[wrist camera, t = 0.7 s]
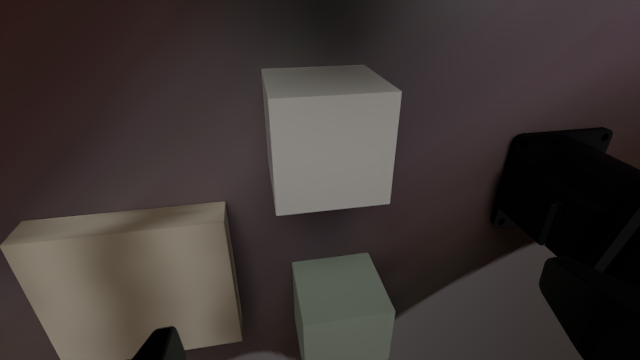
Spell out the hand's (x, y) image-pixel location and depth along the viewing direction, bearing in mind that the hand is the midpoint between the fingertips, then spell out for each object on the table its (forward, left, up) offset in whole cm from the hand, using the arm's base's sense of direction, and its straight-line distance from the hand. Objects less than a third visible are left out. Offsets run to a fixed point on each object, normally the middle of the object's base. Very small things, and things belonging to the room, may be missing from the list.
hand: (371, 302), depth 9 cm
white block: (-1, -1, -12) cm, 12 cm away
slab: (+9, +8, -12) cm, 17 cm away
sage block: (-2, +11, -12) cm, 17 cm away
